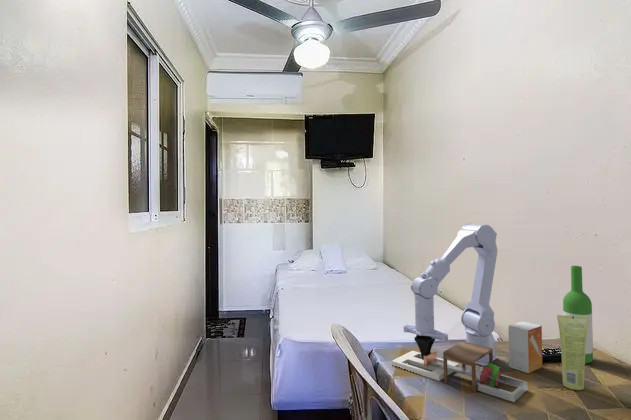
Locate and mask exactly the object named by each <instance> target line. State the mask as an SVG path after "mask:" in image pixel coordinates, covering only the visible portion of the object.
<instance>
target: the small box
mask: <svg viewBox="0 0 631 420" xmlns="http://www.w3.org/2000/svg"><path fill="white" fill-rule="evenodd" d="M542 329H543V326H542V325H540V324H537V323H532V322H528V321H523V320H522V321H519V322H515V323H512V324H509V325H508V329H507V330H508V367H509V368H511V369H514V370H517V371H520V372H523V373H526V374H530V373H532V372H535V371H536V370H540V369H541V367H542V368H543V331H542Z"/></svg>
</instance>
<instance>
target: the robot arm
mask: <svg viewBox="0 0 631 420" xmlns="http://www.w3.org/2000/svg"><path fill="white" fill-rule="evenodd" d="M496 241H497V232H496V231H495V229H494V228H493V227H492V226H491V225H489V224H472V223H467V224H464V225H463V226H462V227H461V229H459V230H458V231H457V235H456V238H455V239H454V240H453V241H452V243H451V244H450V245H449V247H448V248H447V249H446V250H445V252H444V254H443V255H442V256H441V257H440V258H435V259H434V260H430V263H429V266H428V267H427V268H426V269H425V270H424V272H422V273H421V274H420V276H418V277H416V278H414V280H413V282H412V284H411V285H410V290H411V291H412V293H413V296H414V316H415V317H414V319H415V322H414V323H415V324H414V325H410V324H406V325H404V326H403V332H404V333H409V334H413V335H416V336H414V337H413V338H414V341H415V343H416V345H417V347H418V350H419V351H420V352H419V353H421V356H422V360H424V355H426V354H428V353H430V352H431V351H432V347H433V345H434V343H435V341H436V340H438V341H441V342H443V343H446V342H448V341H449V335H448V333H445V332H441V331H438V330H436V329H435V305H434V304H435V302H434V300H435V299H434V298H435V297H434V296H435V295H436V294H437V293H438V288H439V285H440V283H442V282H443V280H444V279H445V277H447V275H448V274H449V273H450V271H451V264H453V263H454V261H456V260H457V258H458V257H459V256H460V255H462V253H464V251H465V250H466V249H468V248H473V249H474V250H475V252H476V253H477V254H478V255H477V262H476V268H475V274H474V280H473V286H472V292H471V294H472V295H471V297H470V301H469V302H467V303H466V304H465V306H464V310H463V312H462V314H461V316H460V321H461V323H462V325H463V326H464V330H465V340H466V341H465V342H468V343H472V344H477V345H481V346H485V347H489V348H493V362H494V361H496V359H498V356H497V355H495V337H494V335H493V332H494V330H495V327H496V323H495V318H494V317H495V312H494V309H492V307H491V306H490V305H491V304H490V301H491V294H492V288H493V282H494V276H495V270H496V269H495V268H496V264H497V263H496V262H497V256H498V247H497V242H496ZM487 362H489V354H487V355H486V356H484V357H483V358H481V359H480V360H478V361H477V362H475V364H476V365H479V366H482V367H483V366H485V367H487V365H488V363H487ZM484 364H485V365H484Z"/></svg>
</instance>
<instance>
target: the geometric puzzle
mask: <svg viewBox="0 0 631 420" xmlns="http://www.w3.org/2000/svg"><path fill="white" fill-rule="evenodd" d="M487 363H488V365H487V366H483V365H482V366H478V367H476V377H477V378H478V380H479V381H480V382H483V383H482V384H486V385H489V386H492V387H495V388H499V386H500V387H501V384H500V383H501V382H503V381H501V380H500V376H501V375H502V373H503V371H502V370H500V369H501V366H498V365H496V364H494V363H493V364H492V363H490V362H487ZM484 365H485V364H484ZM480 374H482V375H481V378H480ZM503 377H504V376H503ZM477 378H476V379H477ZM499 381H500V382H499ZM505 383H506V381H505V382H504V383H502V386H504V385H506V384H505ZM499 384H500V385H499Z"/></svg>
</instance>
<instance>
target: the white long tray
mask: <svg viewBox="0 0 631 420" xmlns="http://www.w3.org/2000/svg"><path fill="white" fill-rule="evenodd" d="M437 354H438V353H437V350H431V351H430V353H428V354H426V355H424V366H428V365H430V364H431V365H434V366H437V367H441V368H444V363H442V362H438V361H437V358H438V357H437V356H438V355H437ZM447 370H451V371H454V372H453V373H458V374H462V375H464V376H469V377H471V378H472V370H468V369H467V368H466V369H462V367H460V366H459V367H455V366H452V365H448V364H447ZM481 375H482V373H480V378H481ZM503 376H504V377H503ZM500 380H501V381H503V382H500V381H499V383H502V384H504V382H505V381H506V383H505V384H504V385H509V386H512V387H516V388H515V389H514V391H509V390H505V389H501V388H500V387H496V386H495V387H492V386H489V385H486V384H482V383H483V382H480V381H479V380H478V378H477V377H476V391H477V392H482V393H484V394H487V395H489V396H492V397H496V398H500V399H503V400H506V401H510V402H512V403H515V402H516V401H517V400H518V399H519V398H520V397H522V396H523V395H524V394H525V393H526V391H528V389H529V387H528V386H529V385H528V383H529V382H528V381H526V380H522V379H519V378H514V377H512V376H508V375H506V374H505V375H504V374H501V376H500Z"/></svg>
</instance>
